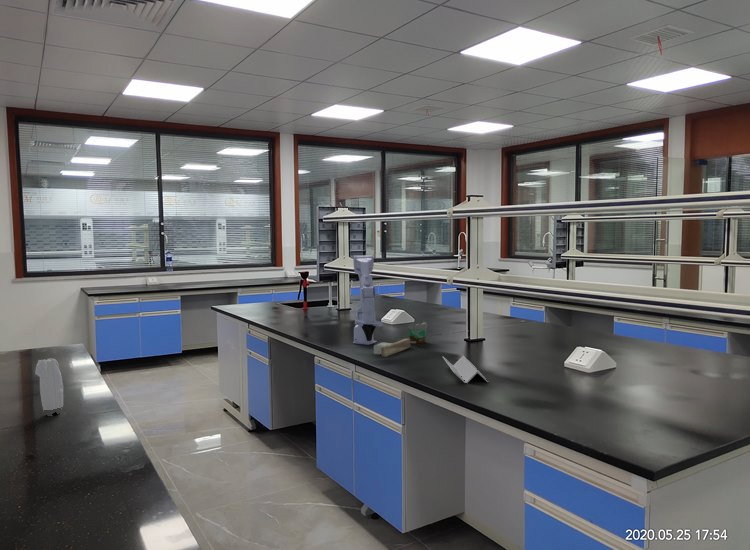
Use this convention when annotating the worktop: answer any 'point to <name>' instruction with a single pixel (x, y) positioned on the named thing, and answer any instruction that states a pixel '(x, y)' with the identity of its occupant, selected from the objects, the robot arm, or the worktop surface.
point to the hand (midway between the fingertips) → (369, 340)
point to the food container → (417, 333)
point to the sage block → (378, 347)
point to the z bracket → (464, 369)
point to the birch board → (395, 347)
